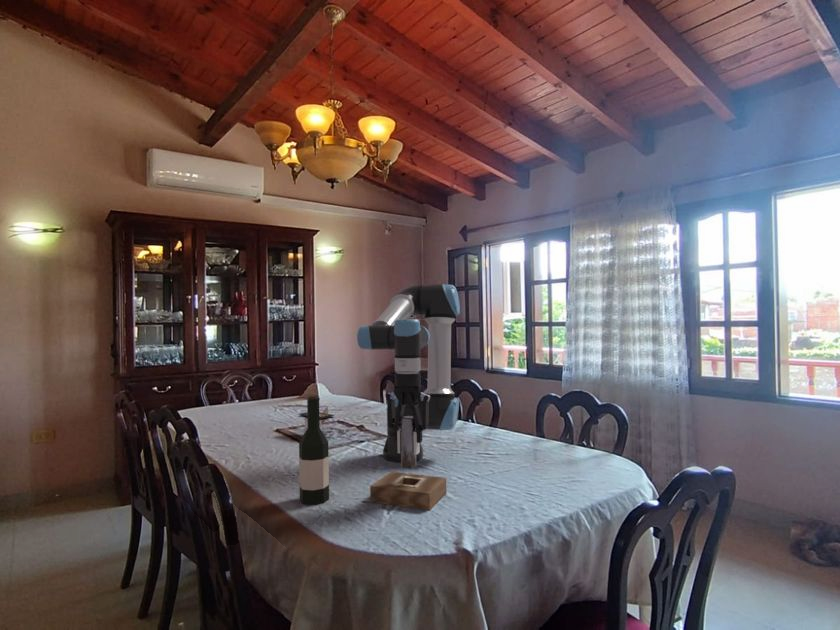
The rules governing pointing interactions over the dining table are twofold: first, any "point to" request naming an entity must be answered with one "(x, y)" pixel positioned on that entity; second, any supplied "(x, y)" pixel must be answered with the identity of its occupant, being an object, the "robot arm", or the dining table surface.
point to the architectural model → (321, 419)
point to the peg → (407, 442)
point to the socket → (408, 490)
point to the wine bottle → (313, 459)
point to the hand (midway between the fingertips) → (408, 452)
